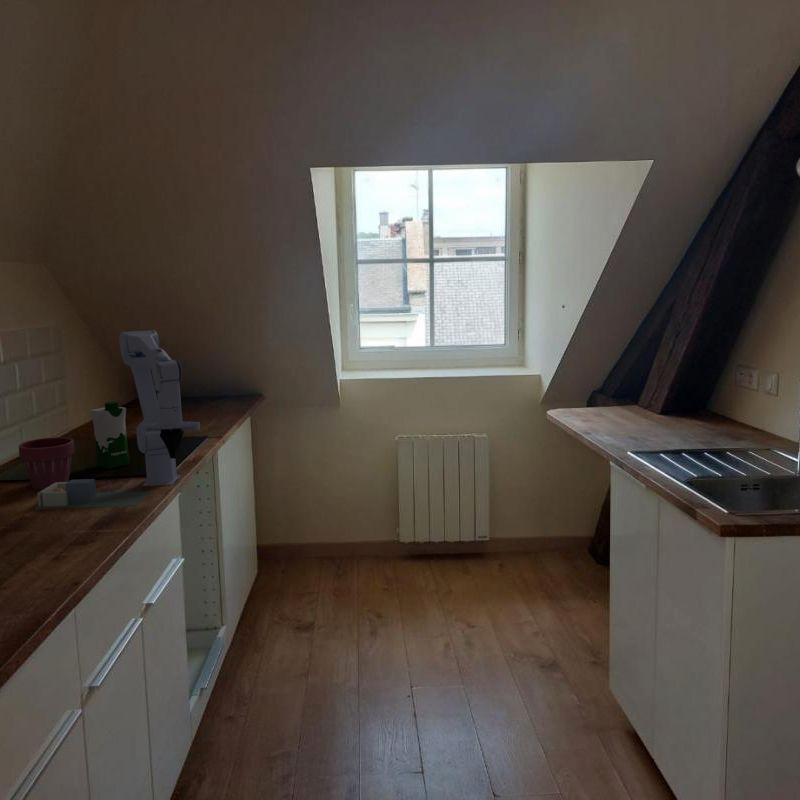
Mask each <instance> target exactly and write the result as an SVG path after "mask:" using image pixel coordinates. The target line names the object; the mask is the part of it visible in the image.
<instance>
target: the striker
mask: <svg viewBox="0 0 800 800" xmlns="http://www.w3.org/2000/svg"><path fill="white" fill-rule="evenodd" d="M65 485H66V491H67V497H68V503H69V502H91V501H92V500H94V499H95V498H96V497H97V496H96V493H97V488H96V486H97V485H96V479H95V478H83V479H71V480H69V481H68V482H67V483H66V484H65Z"/></svg>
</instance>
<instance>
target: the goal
mask: <svg viewBox="0 0 800 800" xmlns="http://www.w3.org/2000/svg"><path fill="white" fill-rule="evenodd" d="M66 483H67V482H55V483H54V484H52V485H50V486H49V487H47V488H45V489H44V490H40V491H38V492H37V503H38V506H39V507H45V506H67V505H68V497H67V491H66V485H65V484H66ZM55 488H62V489H63V490H64V491H57V492H52V490H54V489H55Z"/></svg>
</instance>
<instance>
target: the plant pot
mask: <svg viewBox="0 0 800 800" xmlns="http://www.w3.org/2000/svg"><path fill="white" fill-rule="evenodd" d="M75 450H76V449H75V443H74V439H73V438H70V437H58V436H57V437H56V436H55V437H44V438H36V439H31V440H27V441H23V442H22V443H19V444H18V456H19V459H20V460H22V461H23V462H24V463H23V464H24V466H25V469H26V472H27V475H28V478H29V480H30V484H31V486H32V489H34V490H40V491H42V490H44V489H45V488H47V487H49V486H50V485H52V484H54V483H55V482H69V481H70V479H69V478H70V475H71V474H70V473H71V465H72V455H74V454H75V453H76V451H75Z"/></svg>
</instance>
